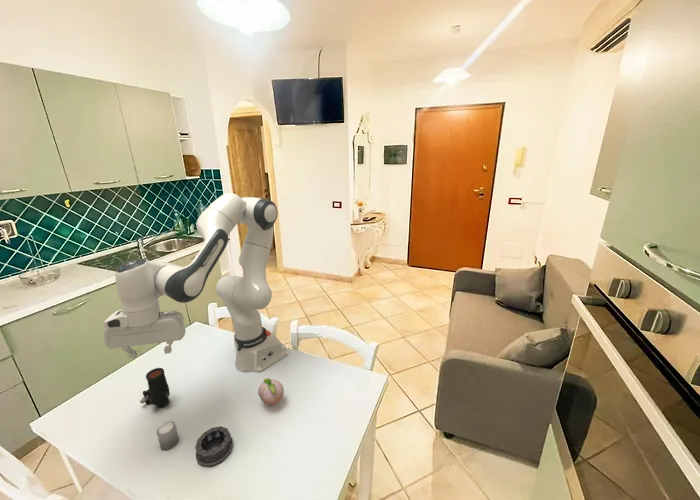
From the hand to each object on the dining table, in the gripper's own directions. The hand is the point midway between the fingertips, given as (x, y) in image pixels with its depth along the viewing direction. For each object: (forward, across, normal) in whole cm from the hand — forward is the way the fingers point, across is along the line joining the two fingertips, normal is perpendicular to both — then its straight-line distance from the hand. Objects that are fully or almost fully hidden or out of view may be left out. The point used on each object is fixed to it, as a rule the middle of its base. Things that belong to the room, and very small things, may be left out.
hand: (151, 354), depth 90 cm
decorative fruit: (+28, -34, -2) cm, 44 cm away
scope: (+28, +5, -12) cm, 31 cm away
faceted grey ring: (+28, -17, +13) cm, 35 cm away
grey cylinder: (+29, -3, +6) cm, 29 cm away
